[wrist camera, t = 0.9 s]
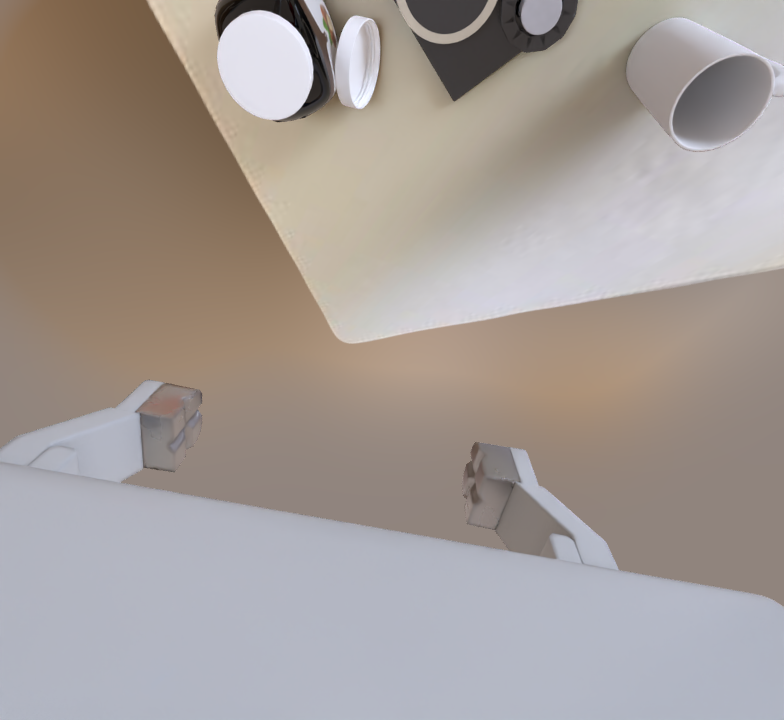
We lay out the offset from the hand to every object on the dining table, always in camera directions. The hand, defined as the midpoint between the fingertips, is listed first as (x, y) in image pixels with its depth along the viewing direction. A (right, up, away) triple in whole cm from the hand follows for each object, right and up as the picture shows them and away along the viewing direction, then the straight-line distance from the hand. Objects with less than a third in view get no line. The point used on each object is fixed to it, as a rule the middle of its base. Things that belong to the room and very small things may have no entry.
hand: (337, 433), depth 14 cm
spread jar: (-5, +32, +28) cm, 43 cm away
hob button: (+14, +31, +24) cm, 42 cm away
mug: (+28, +30, +28) cm, 50 cm away
